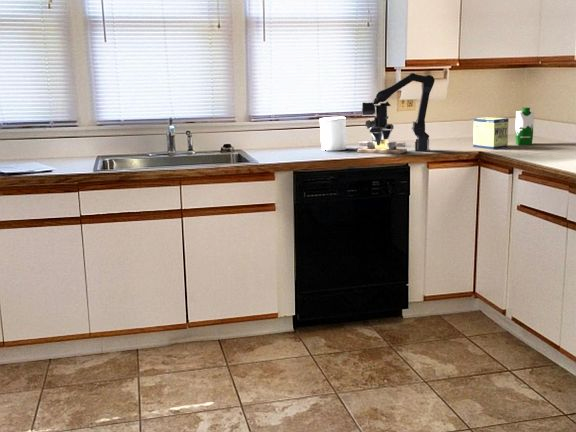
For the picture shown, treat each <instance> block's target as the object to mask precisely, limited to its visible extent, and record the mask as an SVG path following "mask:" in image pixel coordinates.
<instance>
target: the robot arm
mask: <svg viewBox="0 0 576 432" xmlns="http://www.w3.org/2000/svg"><path fill="white" fill-rule="evenodd" d="M411 82H417V83H421V96H420V101H419V102H420V103H419V106H418V112H417V117H416V120H415V121H412V127H411V130H412V133H413V135H415V136H416V138H415V141H414V151H415V152H429V151H430V150H431V149H430V135H429V134H428V133H427V132H426V120H425V119H426V115H427V109H428V104H429V99H430V94H431V91H432V90H433V87H434V84H435V77H434V76H433V75H431V74H425V75H421V74H417V73H414V72H411V73H409V74H407V76H405V77H403V78H401V79H400V80H398V81H397V82H395V83H394V84H392V85H391V86H388V87H385V88H384V89H381V90H379V91H377V92H376V93H375V98H374V99H373V100H372V102H364V101H363V102H362V104H361V105H362V108H361V115H362V117H363V116H364V117H365V116H373V115H374V114H375V117H374V119H372V120H369V119H368V120H365V125H364V126H365V127H366V128H367V130H369V133H370V134H371V135H372V134H373V135H374V137H375V139H376V143H377V145H378V146H379V145H380V142H381V139H382V135H383V139H388V138H389V139H390V136H391V133H392V132H393V130H394V125H393V124H392V123H388V119H389V116H388V107H391V103H389V101H387V100H388V99H389V98H391V96H392V95H393V94H394V93H396V92H397V91H399V90H400V89H403V88H404V87H405V86H407V85H409V84H410V83H411ZM379 103H380V104H379Z"/></svg>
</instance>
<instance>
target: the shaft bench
mask: <svg viewBox="0 0 576 432" xmlns="http://www.w3.org/2000/svg"><path fill="white" fill-rule="evenodd" d="M375 146H376V142H375V141H372V140H370V141H359V142H358V147H362V148H358V149H357V150H356V151H357V153H364V154H367V153H368V154H369V153H370V154H390V155H391V154H392V155H400V154H404V153H406V152H407V150H408V149H407V148H406V142H397V141H389V143H387V147H388V149H376V147H375Z"/></svg>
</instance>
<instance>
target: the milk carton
mask: <svg viewBox="0 0 576 432" xmlns="http://www.w3.org/2000/svg"><path fill="white" fill-rule="evenodd" d="M534 117H535V111H534V110H531V107H522V109H521V110H518V111H517V110H516V111H515V133H514V134H515V137H514V138H515V144H516V145H517V146H532V145H533V139H534V119H535V118H534Z"/></svg>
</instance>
